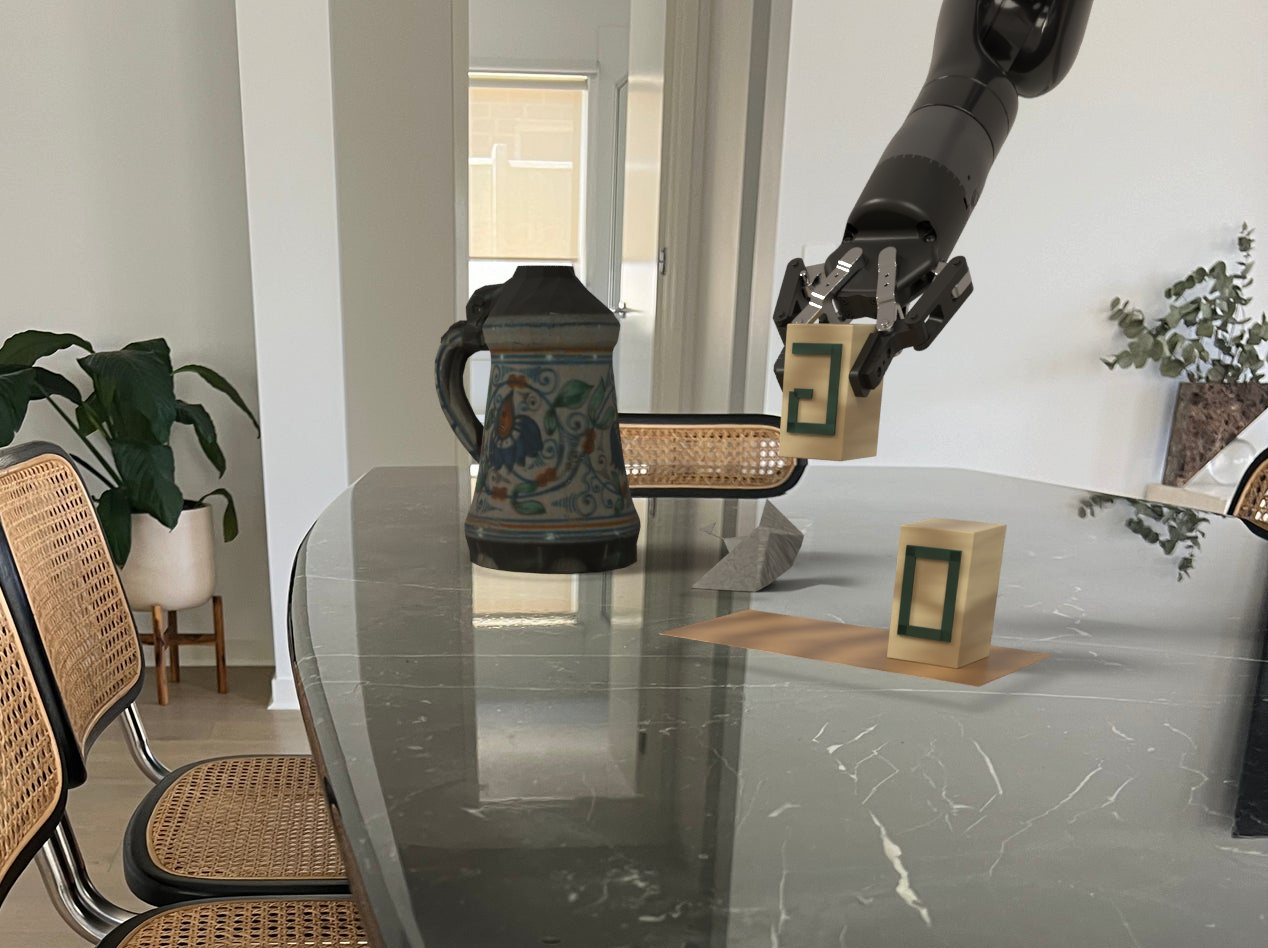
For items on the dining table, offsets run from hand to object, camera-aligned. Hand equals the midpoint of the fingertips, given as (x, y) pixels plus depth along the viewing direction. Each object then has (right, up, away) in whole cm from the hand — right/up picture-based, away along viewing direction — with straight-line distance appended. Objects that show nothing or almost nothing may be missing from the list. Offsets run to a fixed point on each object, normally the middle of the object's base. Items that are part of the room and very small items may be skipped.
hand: (820, 385), depth 99 cm
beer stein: (-20, -1, +39) cm, 44 cm away
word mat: (+2, -18, +2) cm, 18 cm away
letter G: (+1, -4, +3) cm, 5 cm away
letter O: (+7, -19, -2) cm, 20 cm away
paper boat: (-1, -6, +28) cm, 29 cm away
